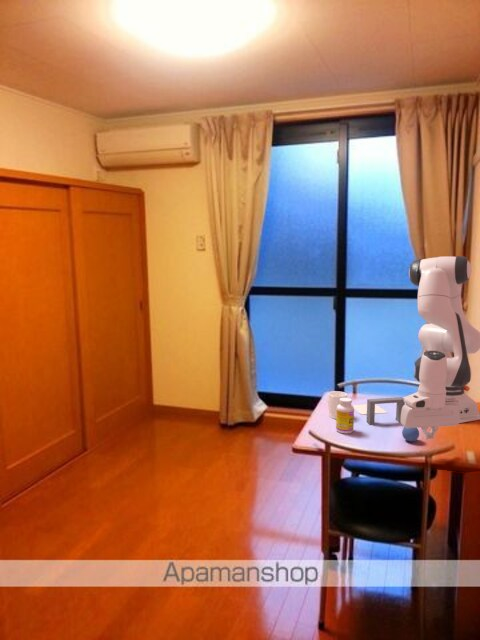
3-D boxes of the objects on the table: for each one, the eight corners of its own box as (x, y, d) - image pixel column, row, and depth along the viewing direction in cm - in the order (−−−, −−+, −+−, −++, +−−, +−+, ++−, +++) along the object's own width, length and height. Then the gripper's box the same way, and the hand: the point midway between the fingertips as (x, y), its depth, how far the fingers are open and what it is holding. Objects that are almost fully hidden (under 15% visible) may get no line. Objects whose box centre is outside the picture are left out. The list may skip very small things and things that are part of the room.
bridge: (366, 422, 202) (367, 399, 201) (400, 419, 205) (401, 397, 203) (369, 424, 199) (370, 401, 198) (403, 422, 202) (405, 399, 200)
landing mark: (375, 404, 225) (375, 403, 225) (387, 412, 213) (387, 412, 213) (350, 405, 222) (350, 405, 222) (361, 414, 211) (361, 414, 211)
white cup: (348, 419, 205) (348, 396, 203) (329, 419, 205) (329, 396, 204) (344, 413, 213) (345, 391, 211) (326, 413, 213) (326, 391, 211)
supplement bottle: (349, 435, 188) (350, 403, 186) (333, 432, 192) (334, 400, 190) (355, 429, 194) (356, 398, 192) (339, 426, 197) (340, 395, 195)
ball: (413, 437, 186) (414, 422, 185) (422, 443, 180) (422, 427, 179) (398, 438, 185) (399, 423, 184) (406, 444, 179) (407, 429, 178)
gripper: (453, 395, 172) (451, 433, 174) (399, 397, 168) (397, 436, 170) (465, 400, 166) (462, 440, 167) (408, 403, 162) (406, 443, 164)
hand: (428, 438), depth 169 cm, fingers closed
